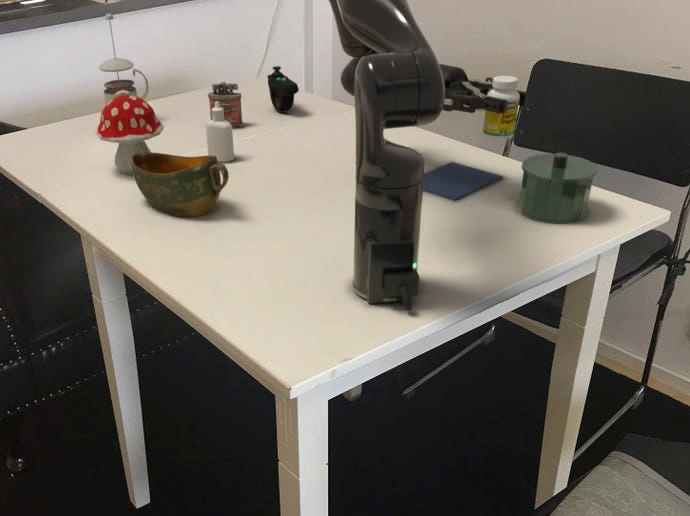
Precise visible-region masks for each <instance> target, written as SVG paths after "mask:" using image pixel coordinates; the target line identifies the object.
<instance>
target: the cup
mask: <svg viewBox="0 0 690 516" xmlns="http://www.w3.org/2000/svg"><path fill="white" fill-rule="evenodd" d="M131 164H132V171H133V174H132V176H133V178H134V181H135V183H136V185H137V188H138V190H139V191H140V193H141V194H142V196H143V197H144V198H145V199H146V201H147V203H148V205H149V206H150V207H152V208H153V209H155V210H157V211H159V212H161V213H164V214H167V215H171V216H175V217H180V218H181V217H183V218H197V217H202V216H206V215H208V214H210V213H211V212H212V211H213V209H214V206H215V205H217V201H218V200H219V198H220V194H221V192H222V191H223V189H224V188H225V187H226V185H227V184H228V181H229V177H230V176H229V171H228V168H227V167H226V165H225V164H223V162H218V161H217V158H216V156H215V155H209V156H208V155H198V156H183V155H173V154H168V153H160V152H152V151H151V152H143V153H136V154H134V155H133V156H132V158H131ZM221 176H222V178H221Z"/></svg>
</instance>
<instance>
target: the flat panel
mask: <svg viewBox="0 0 690 516" xmlns="http://www.w3.org/2000/svg"><path fill="white" fill-rule="evenodd" d="M503 178H504V176H503V175H500V174H497V173H493V172H490V171H487V170H483V169H479V168H476V167H471V166H468V165H464V164H461V163H457V162H453V161H451V162H449V163H446V164H444V165H442V166H439V167H437V168H435V169H432V170H430V171H428V172H424V185H423V192H427V193H430V194H433V195H436V196H441V197H443V198H445V199H448V200H449V199H450V200H453V201H458V200H460V199H462V198H464V197H466V196H468V195H470V194H472V193H474V192H477V191H479V190H480V189H483V188H485V187H487V186H489V185H491V184H493V183H495V182H497V181H499V180H501V179H503Z"/></svg>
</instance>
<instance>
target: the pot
mask: <svg viewBox="0 0 690 516" xmlns="http://www.w3.org/2000/svg"><path fill="white" fill-rule="evenodd" d="M593 180H594V177H592V178H590V179H587V180H584V181H578V182H554V181H547V180H542V179H538V178H535V177H533V176H530V175H528V174H527V173H525V172H524V171H523V173H522V181H521V187H520V192H519V193H520V194H519V200H518V211H519V213H520V214H521V215H523V216H524V217H526V218H528V219H531V220H533V221H536V222H541V223H545V224H546V223H547V224H569V223H574V222H578V221H580V220H582V219H583V218H584V217H585V216H586V214H587V209H588V204H589V199H590V195H591V189H592V185H593Z"/></svg>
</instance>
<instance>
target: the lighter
mask: <svg viewBox="0 0 690 516" xmlns="http://www.w3.org/2000/svg"><path fill="white" fill-rule="evenodd" d="M211 88H212V91H210V92H208V93H207V98H208V102H209V113H210V120H213V119H212V109H213V108H214V107H215V102H219V105H220V107H221V108H223V110H224V120H226V121H228V122H229V123H230V124H231V126H232V129H242V128H243V127H244V122H243V112H242V93H240V92H234V91H237V90H239V85H238V83H234V82H229V83H226V81H221V82H220V83H212V84H211Z"/></svg>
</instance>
